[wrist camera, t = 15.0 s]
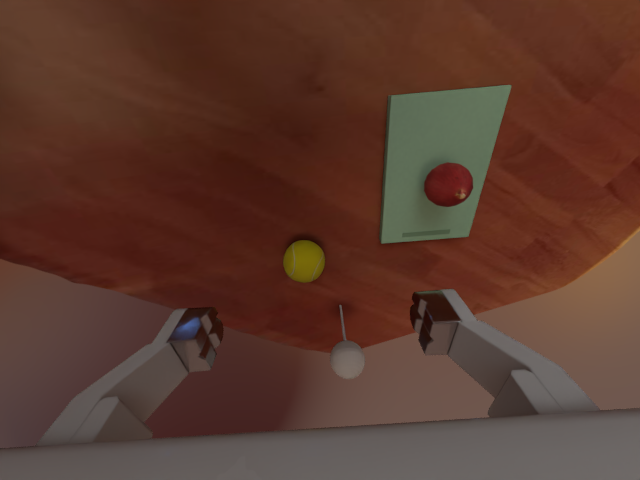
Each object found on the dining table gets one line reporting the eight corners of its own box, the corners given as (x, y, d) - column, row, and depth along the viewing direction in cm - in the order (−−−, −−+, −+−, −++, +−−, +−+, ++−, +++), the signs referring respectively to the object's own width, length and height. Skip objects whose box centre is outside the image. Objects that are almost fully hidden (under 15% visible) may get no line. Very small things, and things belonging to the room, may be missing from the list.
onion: (462, 160, 34) (500, 176, 27) (445, 198, 37) (475, 220, 30) (424, 154, 33) (452, 169, 27) (410, 193, 36) (432, 215, 30)
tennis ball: (329, 238, 42) (331, 261, 36) (317, 268, 45) (318, 294, 39) (290, 228, 41) (286, 251, 35) (281, 260, 44) (276, 286, 38)
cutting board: (388, 95, 31) (391, 95, 30) (503, 85, 31) (512, 84, 29) (379, 239, 42) (381, 243, 41) (463, 232, 42) (468, 237, 41)
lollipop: (331, 292, 49) (338, 362, 36) (358, 298, 50) (374, 367, 37) (323, 313, 52) (326, 384, 39) (348, 317, 53) (360, 388, 40)
